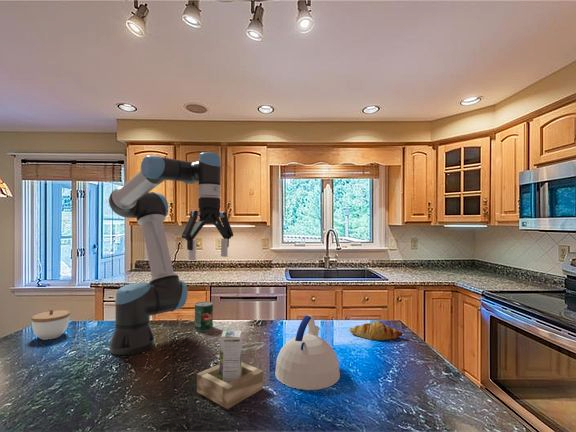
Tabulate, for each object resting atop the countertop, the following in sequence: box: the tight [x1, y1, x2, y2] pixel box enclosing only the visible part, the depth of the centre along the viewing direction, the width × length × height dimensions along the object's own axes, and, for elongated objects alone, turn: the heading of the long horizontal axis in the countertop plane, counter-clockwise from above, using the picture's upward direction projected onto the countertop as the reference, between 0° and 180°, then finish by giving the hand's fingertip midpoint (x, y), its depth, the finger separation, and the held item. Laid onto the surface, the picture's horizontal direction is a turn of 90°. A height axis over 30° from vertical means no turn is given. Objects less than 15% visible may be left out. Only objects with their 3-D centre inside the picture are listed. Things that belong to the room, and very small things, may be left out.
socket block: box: [196, 361, 264, 410], centre depth 89 cm, size 13×13×5 cm
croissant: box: [349, 320, 403, 341], centre depth 132 cm, size 21×10×8 cm, turn 75°
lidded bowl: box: [31, 309, 71, 341], centre depth 130 cm, size 13×13×11 cm
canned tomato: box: [194, 301, 214, 332], centre depth 141 cm, size 8×8×11 cm
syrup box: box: [219, 329, 243, 384], centre depth 90 cm, size 6×6×14 cm
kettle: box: [274, 314, 341, 391], centre depth 100 cm, size 20×21×18 cm
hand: (209, 258), depth 111 cm, fingers open, 13 cm apart
